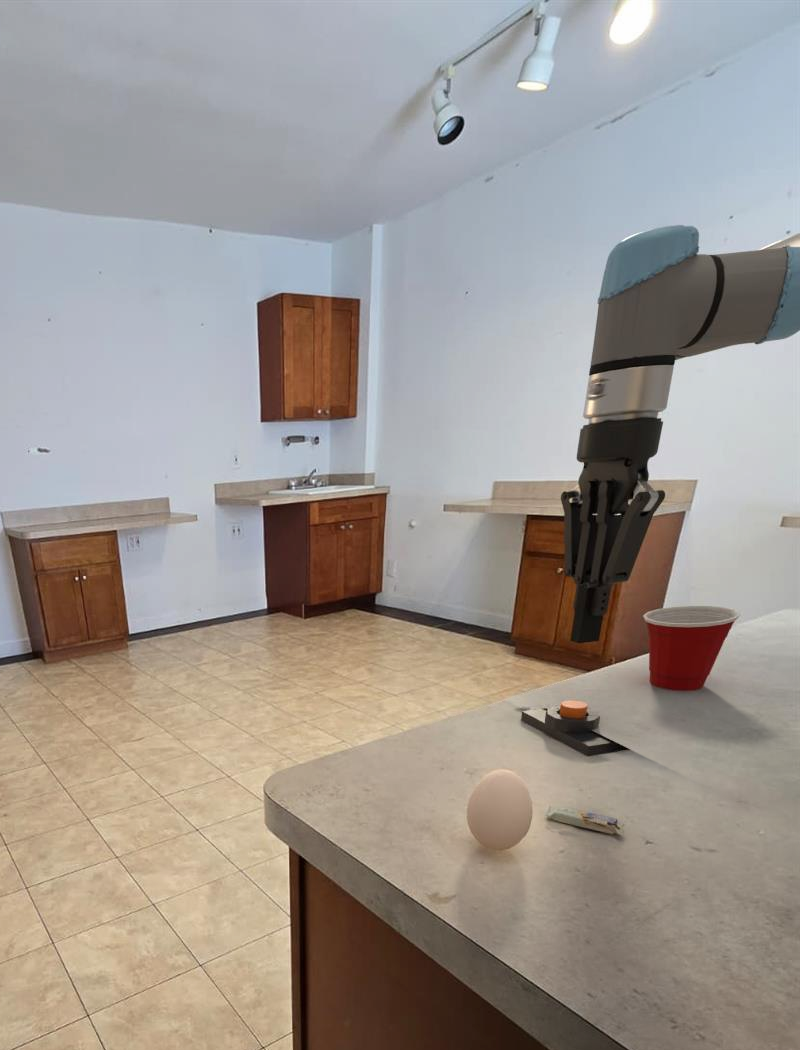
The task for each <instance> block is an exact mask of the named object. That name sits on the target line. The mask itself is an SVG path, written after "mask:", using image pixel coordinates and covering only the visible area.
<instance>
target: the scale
mask: <svg viewBox="0 0 800 1050" xmlns="http://www.w3.org/2000/svg"><path fill="white" fill-rule="evenodd" d="M560 706H561V705H555V706H551V707H549V708H546V707H544V708H537V709H530V710H522V711H521V716H520V717H521V718H520V721H521V722H523V723H525V724H527V725H528V726H531V727H532V728H534V729H536V730H537V731H540V732H542V733H543V734H545V735H547V736H549V737H550V738H552V739H554V740H556V741H558V742H560V743H561V744H564V745H565V746H567V747H569V748H570V749H572V750H574V751H577V752H578V753H580V754H582V755H584V756H586V757H593V756H599V755H606V754H612V753H617V752H619V753H620V752H624V751H631V750H632V749H631V748H629V747H627V746H624V745H623V744H620V743H619V742H616V741H614V740H612V739H611V738H608V737H606V736H604V735H603V734H600V733H598V732H596V731H595V730H596V729H597V728H598V727H599V724H600V720H601V715H600V713H599V712H598V711H596V710H594V709H592V708H589V707H587V713H586V717H585V718H568V717H563V716H561V715H559V712H560Z"/></svg>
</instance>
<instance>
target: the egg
mask: <svg viewBox="0 0 800 1050" xmlns="http://www.w3.org/2000/svg"><path fill="white" fill-rule="evenodd" d="M533 810H534V809H533V800H532V797H531V794H530V791H529V788H528V787H527V784H526V783H525V782H524V780H523V778H521V777H520V776H519V775H518V774H516V773H515V772H513V771H512V770H509V769H504V768H503V769H495V770H492V771H490V772H488V773H487V774H485V775H484V776H483V777H482V778H481V779H480V780H479V781H478V782H477V784H476V786H474V788H473V790H472V791H471V794H470V796H469V798H468V803H467V808H466V821H467V826H468V829H469V831H470V833H471V834H472V837H473V838H474V839H475V840H476V842H478V843H479V845H481V846H482V847H484V848H486V849H488V850H490V851H491V850H492V851H495V852H497V851H500V852H501V851H506V850H510V849H512V848H513V847H515V846H516V845H518V844H519V843H520V842H521V841H522V840H523V839H524V838H525V837H526V836H527V834H528V833H529V831H530V828H531V825H532V821H533V814H534V813H533Z"/></svg>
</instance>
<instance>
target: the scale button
mask: <svg viewBox="0 0 800 1050" xmlns="http://www.w3.org/2000/svg"><path fill="white" fill-rule="evenodd" d="M559 706H560V712H559V715H561V716H563V717H568V718H585V717H586V713H587V708H589V706H588V704H587V703H586V702H584V701H580V700H564V701H561V702H560V705H559Z"/></svg>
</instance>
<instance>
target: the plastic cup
mask: <svg viewBox="0 0 800 1050" xmlns="http://www.w3.org/2000/svg"><path fill="white" fill-rule="evenodd" d="M740 616H741V613H740V612H739V611H738V610H736V609H733V608H729V607H722V606H712V605H683V606H682V605H681V606H670V607H663V608H657V609H654V610H650V611H646V613H644V614H643V615H642V617H643V619H644V621H645V622H646V623H645V624H646V628H647V634H648V670H649V683H650V684H651V686H654V687H656V688H659V689H662V690H663V689H664V690H671V691H676V692H677V691H682V692H688V691H689V692H690V691H691V692H692V691H697V690H701V689H702V688H703V687H704V685H705V683H706V680H707V678H708V677H709V676H710V674H711V672H712V669H713V668H714V665H715V662H716V661H717V659H718V656H719V654H720V651H721V649H722V648H723V645H724V643H725V640H726V638H727V637H728V636H729V633H730V630H732V627H733V625H734V623H735V622H736V621H737V620H738V619H739V617H740Z"/></svg>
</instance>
